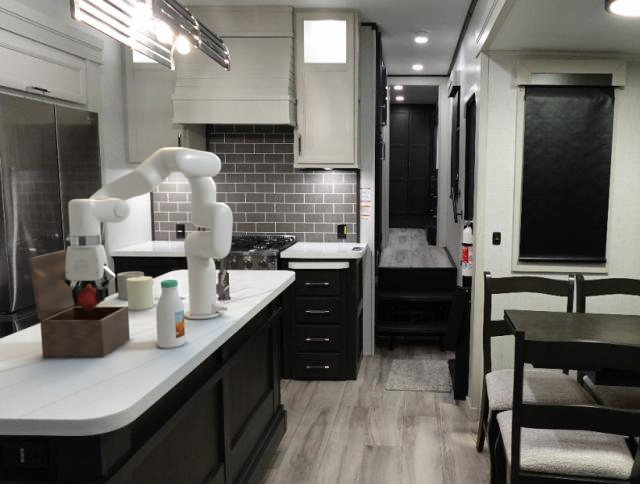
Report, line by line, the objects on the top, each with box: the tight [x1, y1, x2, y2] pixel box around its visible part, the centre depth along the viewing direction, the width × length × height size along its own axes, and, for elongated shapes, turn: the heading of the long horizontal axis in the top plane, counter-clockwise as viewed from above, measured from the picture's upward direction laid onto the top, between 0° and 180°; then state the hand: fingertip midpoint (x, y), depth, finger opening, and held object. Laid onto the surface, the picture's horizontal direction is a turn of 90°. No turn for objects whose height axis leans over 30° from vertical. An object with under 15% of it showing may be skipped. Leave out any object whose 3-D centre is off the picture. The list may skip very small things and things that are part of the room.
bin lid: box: [28, 249, 75, 320], centre depth 145 cm, size 17×16×1 cm
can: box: [127, 275, 155, 311], centre depth 194 cm, size 9×9×12 cm
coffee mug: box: [116, 271, 145, 300], centre depth 211 cm, size 13×10×10 cm
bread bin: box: [39, 306, 131, 359], centre depth 147 cm, size 17×16×11 cm
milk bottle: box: [156, 279, 186, 349], centre depth 151 cm, size 8×8×20 cm
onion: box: [77, 283, 100, 311], centre depth 146 cm, size 6×6×8 cm
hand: (89, 301), depth 146 cm, fingers closed on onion, 5 cm apart
